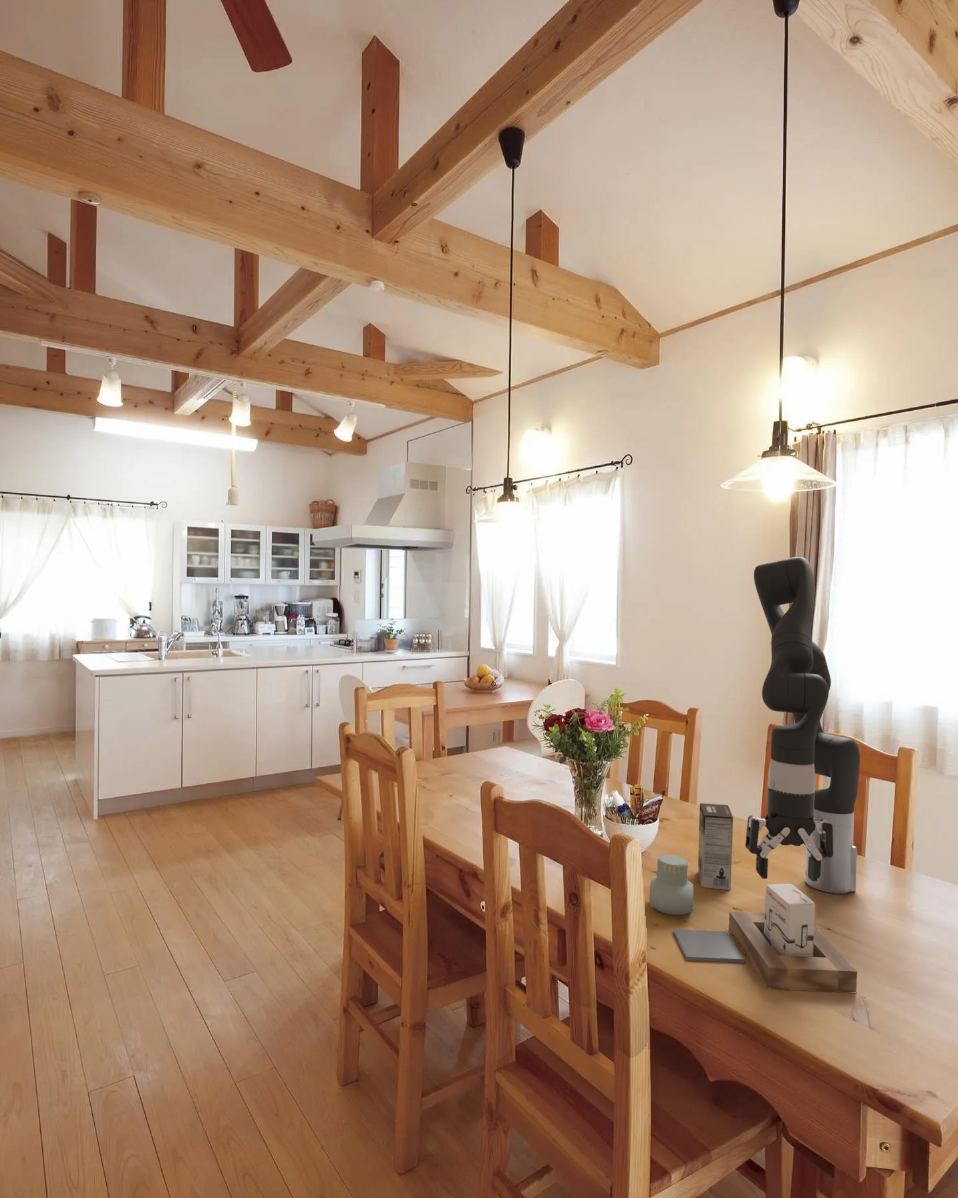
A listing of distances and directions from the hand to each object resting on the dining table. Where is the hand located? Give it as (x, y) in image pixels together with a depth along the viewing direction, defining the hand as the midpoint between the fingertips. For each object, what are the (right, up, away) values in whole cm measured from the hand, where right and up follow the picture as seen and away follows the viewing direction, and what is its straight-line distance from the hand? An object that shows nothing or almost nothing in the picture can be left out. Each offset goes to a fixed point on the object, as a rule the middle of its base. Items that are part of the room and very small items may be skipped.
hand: (787, 878), depth 123 cm
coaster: (-13, -14, +3) cm, 19 cm away
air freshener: (-15, -14, +19) cm, 28 cm away
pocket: (0, -14, 0) cm, 14 cm away
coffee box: (-2, -14, +33) cm, 36 cm away
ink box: (0, -14, 0) cm, 14 cm away
